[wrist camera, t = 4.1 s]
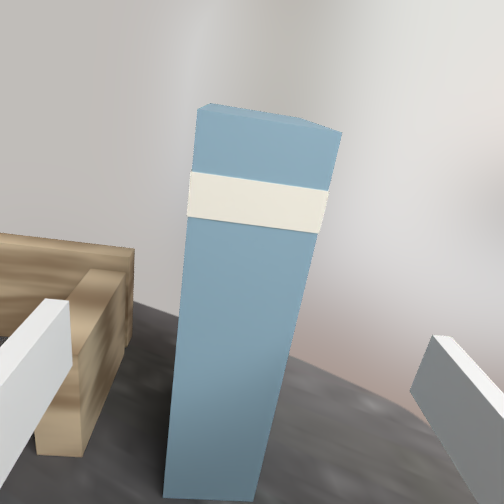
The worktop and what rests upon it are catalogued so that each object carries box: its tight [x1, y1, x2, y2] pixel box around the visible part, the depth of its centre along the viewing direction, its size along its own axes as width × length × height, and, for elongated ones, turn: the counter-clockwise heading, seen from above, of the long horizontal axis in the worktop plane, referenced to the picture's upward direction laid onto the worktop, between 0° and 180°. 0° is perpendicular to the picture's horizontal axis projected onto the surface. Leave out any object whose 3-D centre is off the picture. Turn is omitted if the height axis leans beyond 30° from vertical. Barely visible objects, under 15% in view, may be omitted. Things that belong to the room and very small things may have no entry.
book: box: [163, 103, 342, 502], centre depth 24 cm, size 10×6×24 cm, turn 3°
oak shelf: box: [0, 233, 135, 457], centre depth 29 cm, size 14×16×10 cm
